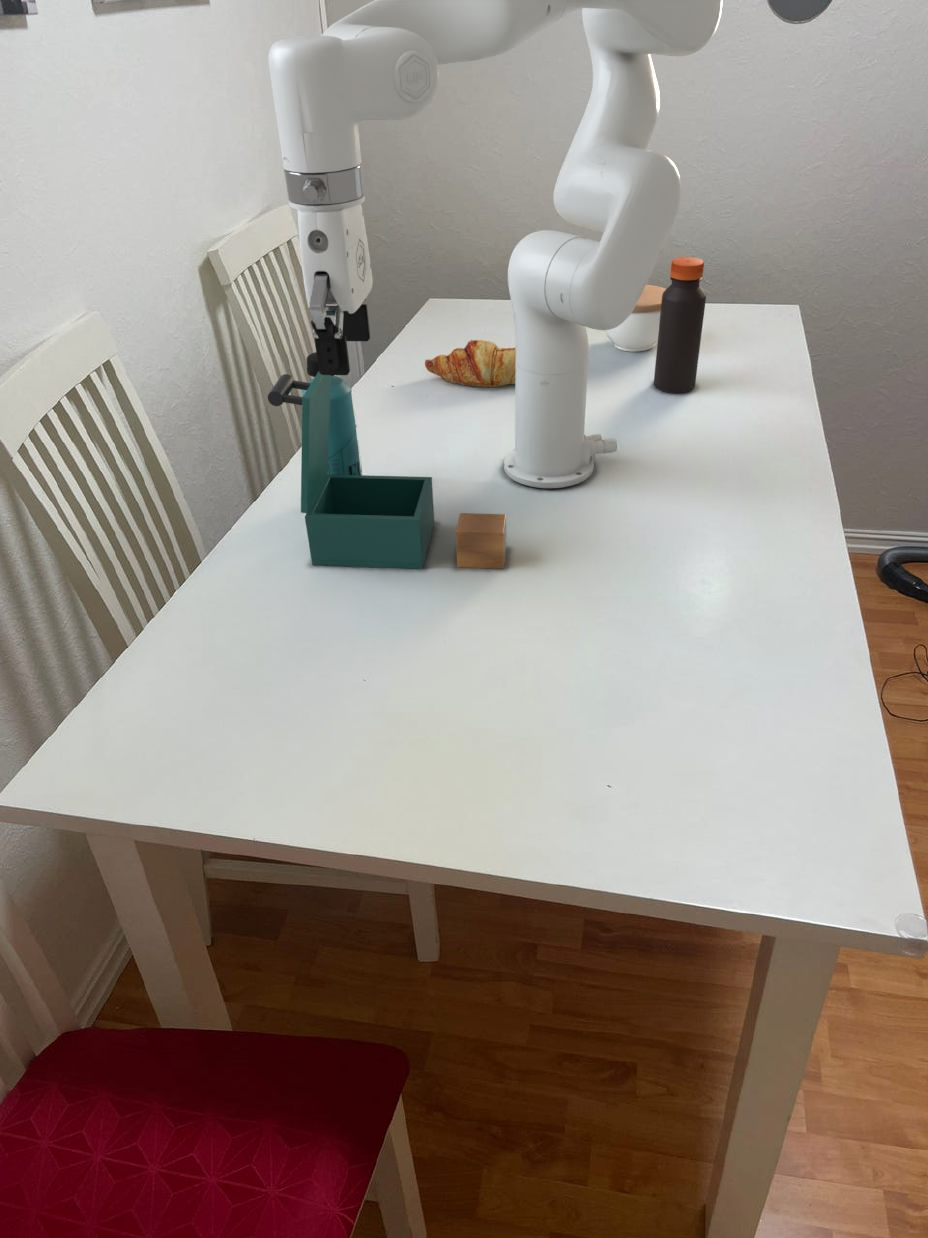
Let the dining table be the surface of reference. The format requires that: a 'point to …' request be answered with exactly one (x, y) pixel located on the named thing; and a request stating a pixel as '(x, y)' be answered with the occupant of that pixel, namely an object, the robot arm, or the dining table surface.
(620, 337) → the lidded bowl
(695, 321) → the vinegar
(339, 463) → the beverage bottle
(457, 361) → the croissant
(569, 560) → the dining table surface
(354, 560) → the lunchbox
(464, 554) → the block
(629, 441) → the dining table surface
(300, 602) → the dining table surface
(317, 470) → the lunchbox lid
